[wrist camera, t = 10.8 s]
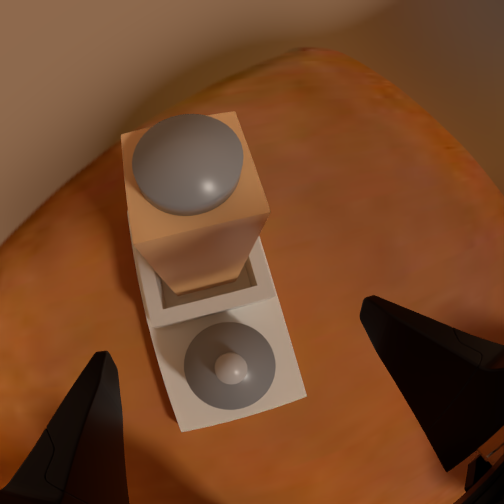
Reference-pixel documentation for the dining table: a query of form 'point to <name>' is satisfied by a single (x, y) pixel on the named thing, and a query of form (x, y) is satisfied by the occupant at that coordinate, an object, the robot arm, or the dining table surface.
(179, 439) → the dining table surface
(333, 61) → the dining table surface
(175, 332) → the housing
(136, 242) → the block
